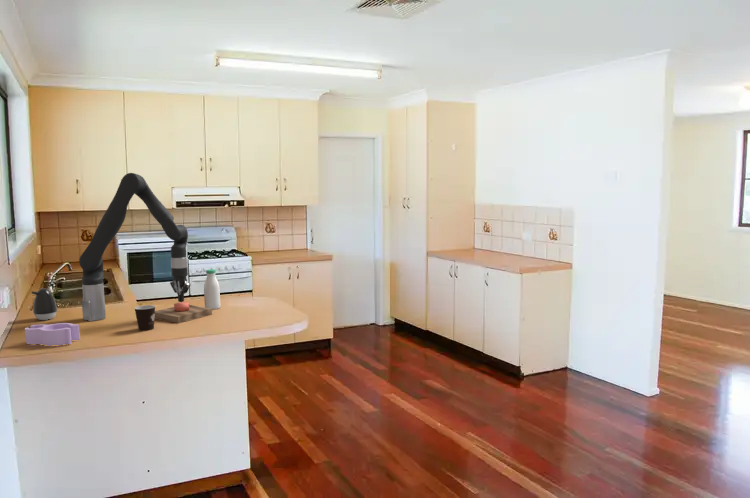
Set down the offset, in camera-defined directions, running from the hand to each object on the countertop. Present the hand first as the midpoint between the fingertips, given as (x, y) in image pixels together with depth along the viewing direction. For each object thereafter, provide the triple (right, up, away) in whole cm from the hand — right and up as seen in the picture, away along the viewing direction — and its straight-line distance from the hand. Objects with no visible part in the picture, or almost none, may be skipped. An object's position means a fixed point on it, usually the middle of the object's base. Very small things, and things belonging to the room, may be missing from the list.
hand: (181, 301), depth 296 cm
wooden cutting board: (0, -7, +1) cm, 7 cm away
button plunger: (0, -4, +1) cm, 4 cm away
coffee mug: (-8, -10, -21) cm, 25 cm away
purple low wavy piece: (-40, -14, -42) cm, 60 cm away
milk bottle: (+11, -5, +18) cm, 22 cm away
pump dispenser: (-66, -9, 0) cm, 66 cm away
